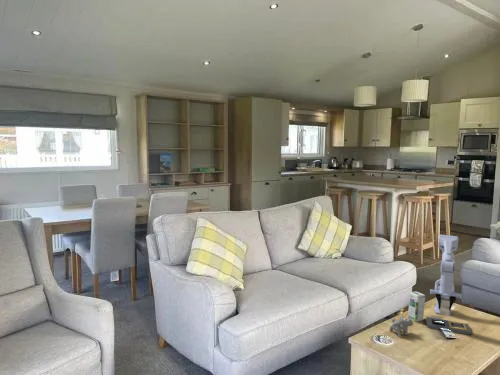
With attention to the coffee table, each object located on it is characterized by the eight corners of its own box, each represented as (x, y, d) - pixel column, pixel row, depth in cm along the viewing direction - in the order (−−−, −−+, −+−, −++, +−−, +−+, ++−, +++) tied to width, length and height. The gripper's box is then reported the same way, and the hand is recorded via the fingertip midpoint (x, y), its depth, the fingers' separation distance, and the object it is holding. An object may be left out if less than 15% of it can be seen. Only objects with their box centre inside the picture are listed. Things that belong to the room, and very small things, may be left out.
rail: (425, 319, 207) (426, 316, 206) (467, 326, 199) (467, 323, 199) (427, 327, 197) (427, 324, 197) (470, 335, 190) (471, 332, 190)
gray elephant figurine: (386, 332, 192) (387, 318, 190) (399, 324, 199) (400, 311, 198) (403, 340, 184) (404, 325, 183) (416, 332, 192) (417, 317, 190)
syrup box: (407, 317, 208) (409, 292, 206) (415, 316, 210) (417, 290, 209) (415, 322, 203) (417, 296, 201) (423, 320, 205) (425, 294, 204)
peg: (439, 311, 201) (440, 297, 200) (447, 312, 199) (449, 298, 198) (439, 314, 197) (441, 299, 196) (448, 316, 196) (449, 301, 195)
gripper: (431, 284, 196) (429, 309, 197) (463, 288, 190) (461, 314, 192) (430, 279, 202) (428, 304, 204) (461, 284, 197) (459, 309, 198)
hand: (444, 309), depth 198 cm, fingers closed on peg, 4 cm apart
